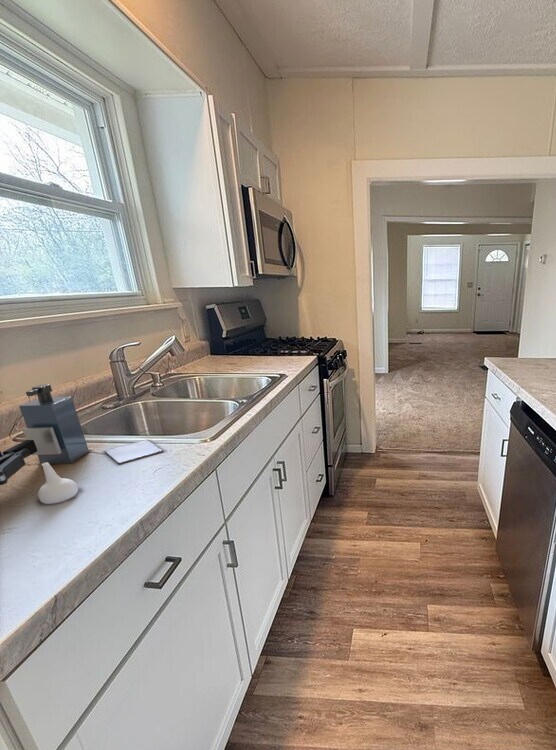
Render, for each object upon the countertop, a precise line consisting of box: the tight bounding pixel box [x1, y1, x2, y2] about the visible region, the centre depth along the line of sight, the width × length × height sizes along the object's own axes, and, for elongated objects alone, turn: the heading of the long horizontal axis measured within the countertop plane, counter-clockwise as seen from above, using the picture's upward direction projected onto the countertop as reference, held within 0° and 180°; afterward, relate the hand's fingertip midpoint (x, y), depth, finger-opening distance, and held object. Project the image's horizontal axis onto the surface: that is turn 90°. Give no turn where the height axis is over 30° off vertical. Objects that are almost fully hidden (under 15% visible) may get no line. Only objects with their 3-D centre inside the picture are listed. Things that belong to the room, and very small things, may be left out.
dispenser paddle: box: [21, 427, 61, 456], centre depth 92 cm, size 1×6×6 cm, turn 93°
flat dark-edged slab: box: [104, 439, 164, 465], centre depth 102 cm, size 11×10×1 cm
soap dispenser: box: [18, 384, 90, 464], centre depth 95 cm, size 8×7×19 cm
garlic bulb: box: [37, 462, 79, 505], centre depth 80 cm, size 6×6×8 cm
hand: (32, 445), depth 89 cm, fingers closed
